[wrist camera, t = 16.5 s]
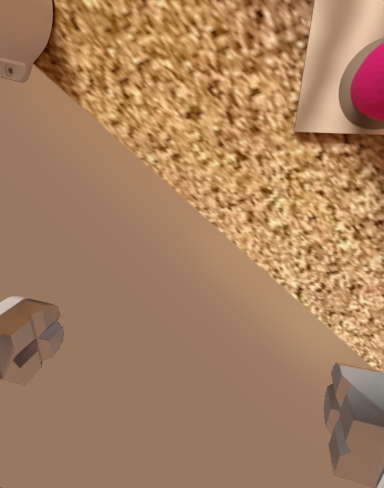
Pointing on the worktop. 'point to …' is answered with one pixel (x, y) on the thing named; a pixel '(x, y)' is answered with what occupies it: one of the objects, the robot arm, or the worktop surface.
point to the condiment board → (338, 66)
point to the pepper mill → (370, 85)
